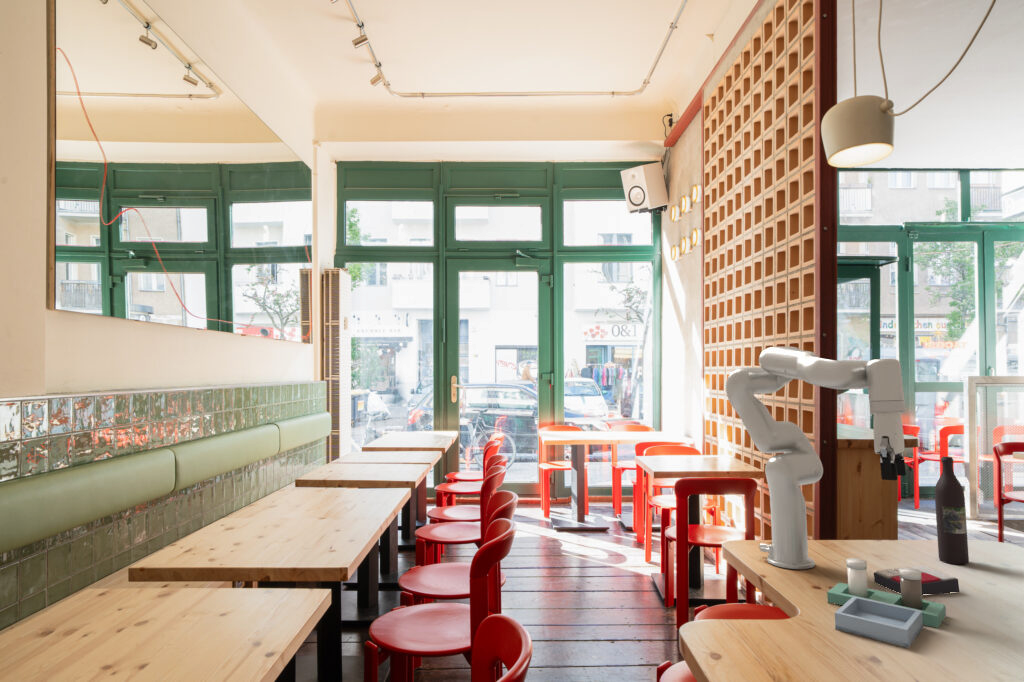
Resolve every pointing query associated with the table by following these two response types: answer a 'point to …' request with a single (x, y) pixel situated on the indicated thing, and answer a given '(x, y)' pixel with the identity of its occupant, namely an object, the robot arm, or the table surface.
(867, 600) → the parts tray
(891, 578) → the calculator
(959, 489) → the wine bottle
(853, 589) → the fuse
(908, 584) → the fuse
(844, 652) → the table surface
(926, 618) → the block
